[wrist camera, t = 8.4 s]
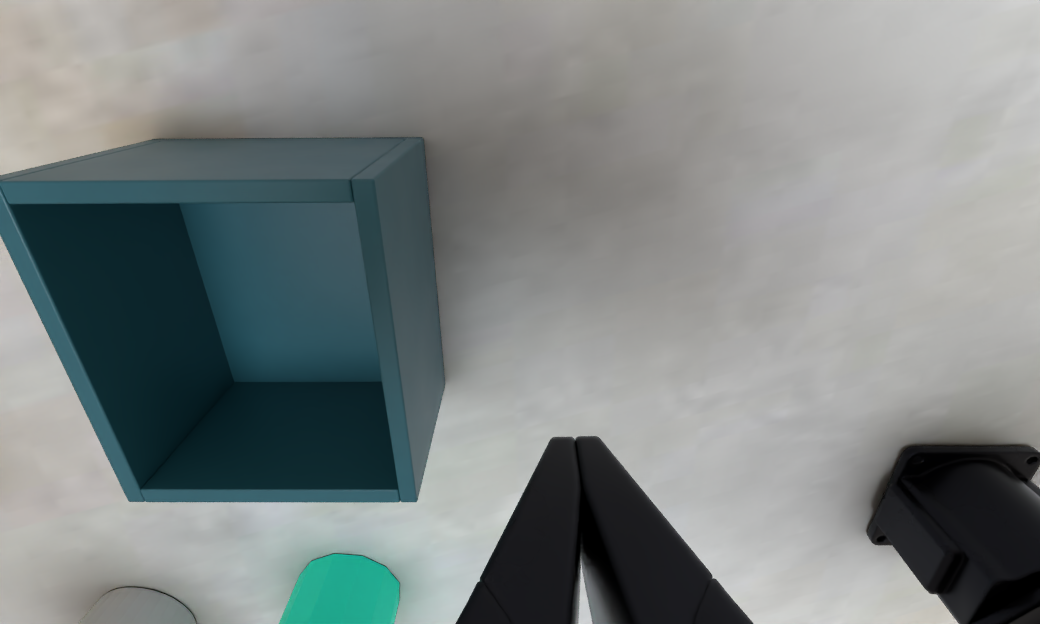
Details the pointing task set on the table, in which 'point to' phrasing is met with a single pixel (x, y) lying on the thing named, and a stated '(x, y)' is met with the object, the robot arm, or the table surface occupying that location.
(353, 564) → the candle
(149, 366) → the open box
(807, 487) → the table surface
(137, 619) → the coffee cup
